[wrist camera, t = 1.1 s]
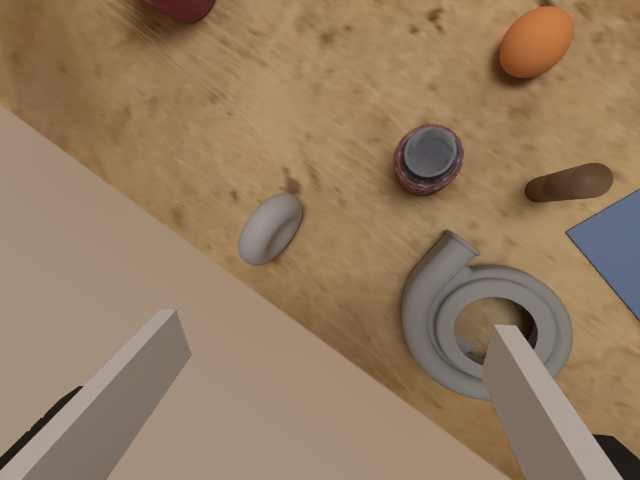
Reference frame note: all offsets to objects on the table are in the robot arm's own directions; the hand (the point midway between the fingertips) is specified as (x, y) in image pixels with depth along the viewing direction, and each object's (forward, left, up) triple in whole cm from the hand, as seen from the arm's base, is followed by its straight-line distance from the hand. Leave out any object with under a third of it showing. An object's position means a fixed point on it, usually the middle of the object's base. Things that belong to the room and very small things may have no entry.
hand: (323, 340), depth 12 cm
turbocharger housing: (-11, -4, -25) cm, 28 cm away
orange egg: (+8, -24, -22) cm, 34 cm away
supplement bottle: (+5, -10, -25) cm, 27 cm away
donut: (+10, +8, -25) cm, 28 cm away
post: (-4, -18, -25) cm, 31 cm away
